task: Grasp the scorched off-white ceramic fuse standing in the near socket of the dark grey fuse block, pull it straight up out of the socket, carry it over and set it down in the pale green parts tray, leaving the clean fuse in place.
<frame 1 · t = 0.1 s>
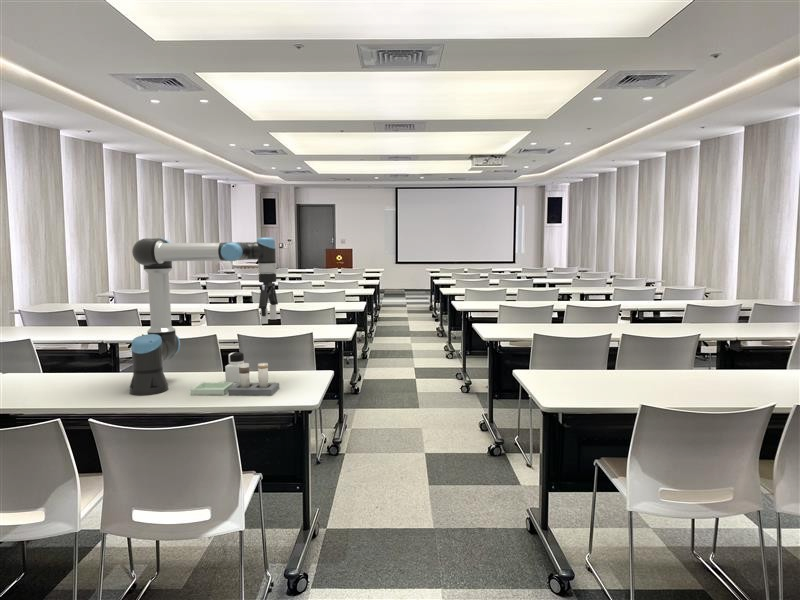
hand: (269, 321, 255), 28 cm above the table, fingers open, 13 cm apart
container: (237, 381, 264), on the table
fuse block: (254, 391, 244), on the table
blown fuse: (245, 391, 245), resting in fuse block
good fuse: (263, 391, 244), resting in fuse block
parts tray: (212, 391, 245), on the table
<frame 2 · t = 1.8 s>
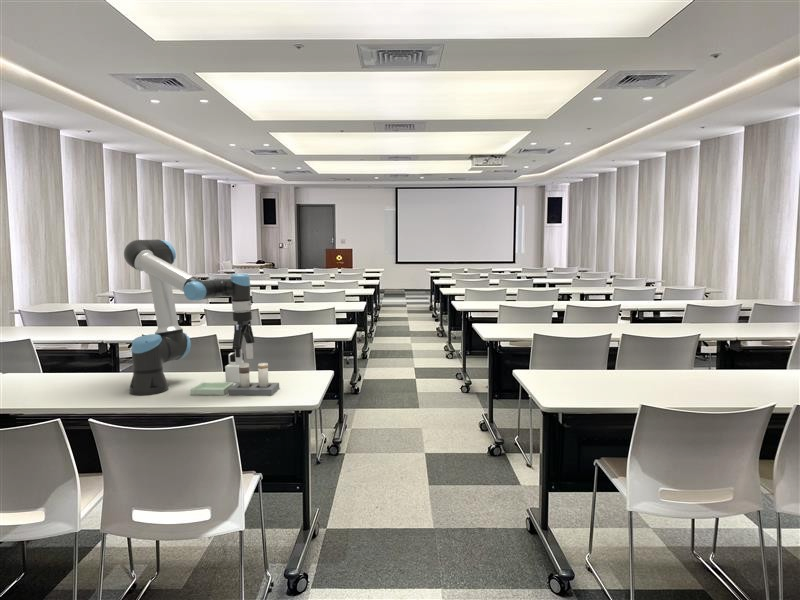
hand: (244, 361, 243), 13 cm above the table, fingers open, 13 cm apart
nothing on the table moved.
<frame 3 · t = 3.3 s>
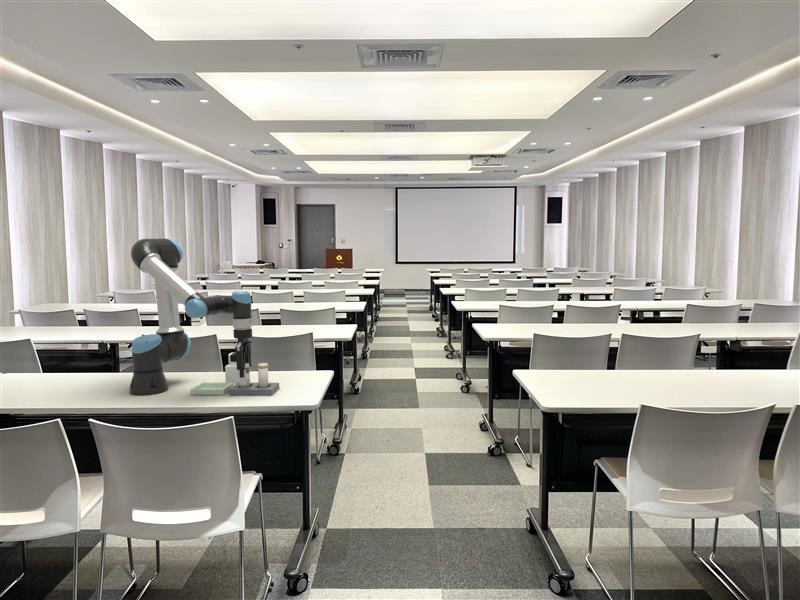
hand: (244, 383, 244), 4 cm above the table, fingers closed on blown fuse, 4 cm apart
blown fuse: (245, 391, 245), resting in fuse block, touching gripper
everything else where it was.
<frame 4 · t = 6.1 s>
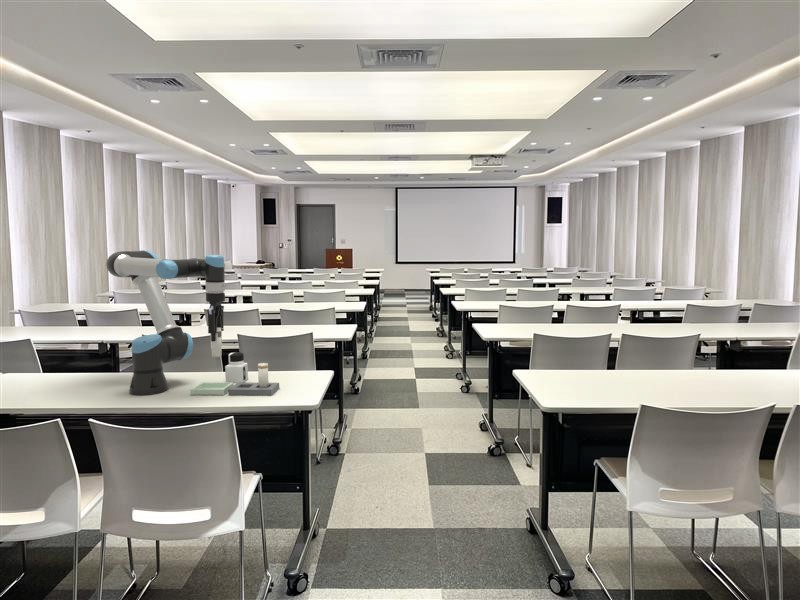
hand: (216, 347, 244), 19 cm above the table, fingers closed on blown fuse, 4 cm apart
blown fuse: (216, 356, 244), point 15 cm above the table, touching gripper
everything else where it was.
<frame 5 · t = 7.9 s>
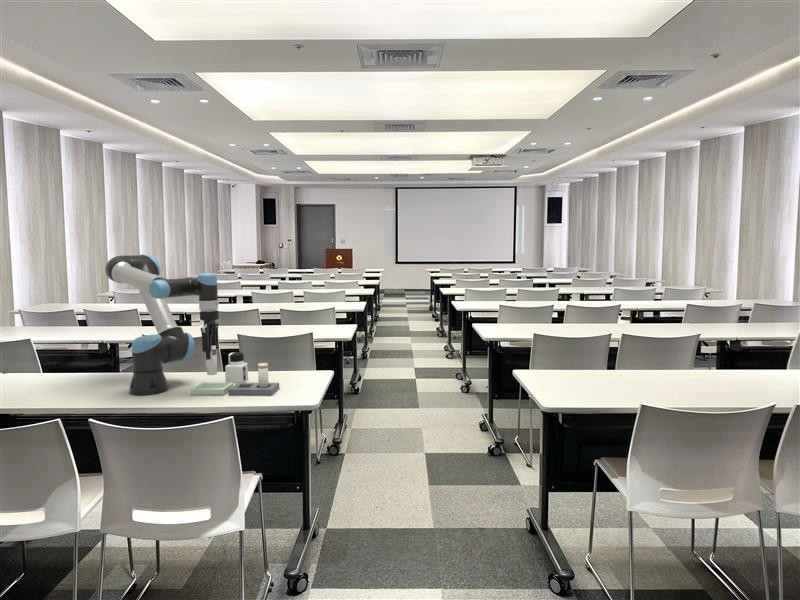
hand: (211, 365, 244), 11 cm above the table, fingers closed on blown fuse, 4 cm apart
blown fuse: (212, 373, 245), point 8 cm above the table, touching gripper
everything else where it was.
when the fingers open (6 cm above the table, at t = 9.2 s): blown fuse drops 1 cm, resting on parts tray.
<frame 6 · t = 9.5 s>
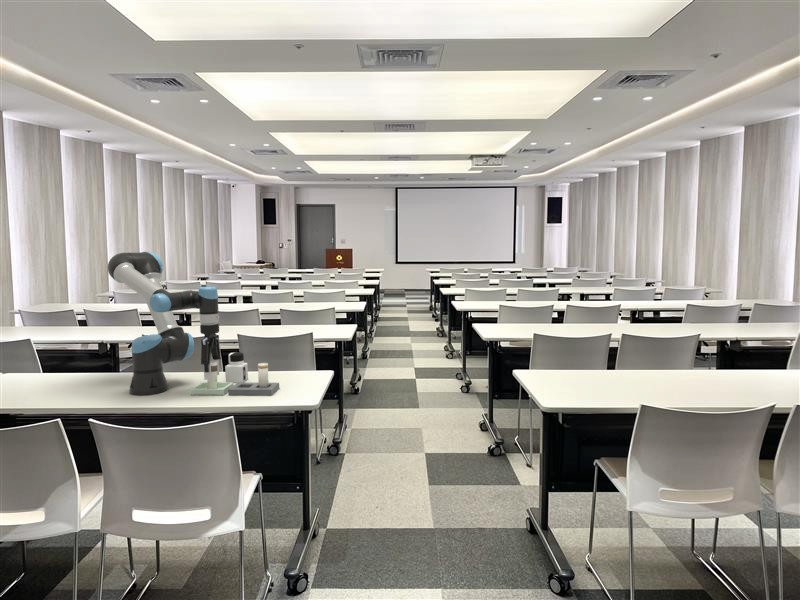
hand: (211, 377, 245), 6 cm above the table, fingers open, 8 cm apart
blown fuse: (212, 390, 245), point 1 cm above the table, touching parts tray
everything else where it was.
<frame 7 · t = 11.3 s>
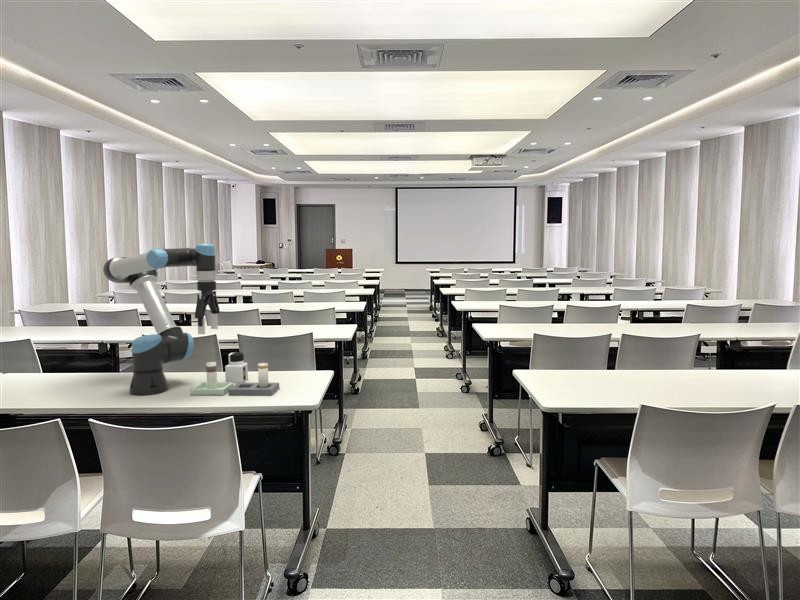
hand: (208, 331, 244), 26 cm above the table, fingers open, 13 cm apart
nothing on the table moved.
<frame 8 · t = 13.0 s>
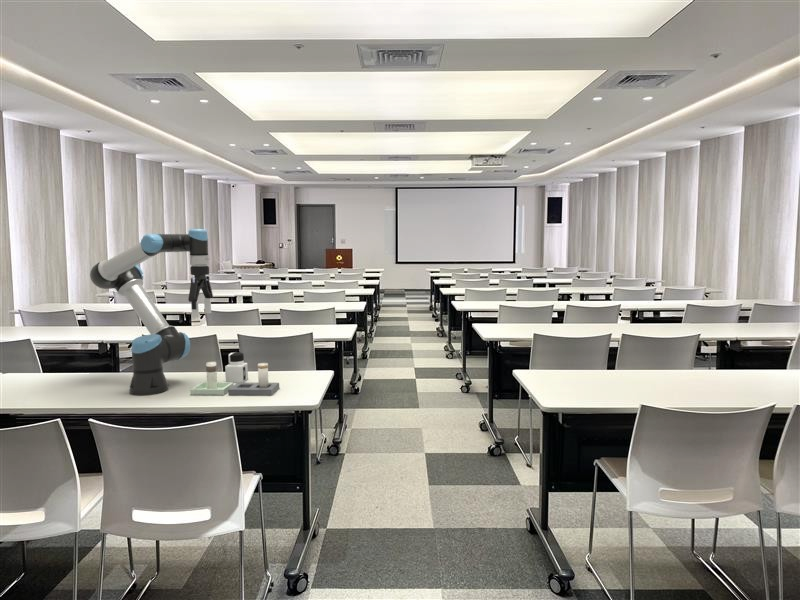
hand: (201, 315, 250), 32 cm above the table, fingers open, 13 cm apart
nothing on the table moved.
at the end: blown fuse inside the target area on the parts tray (0.0 cm from its centre), point 0.5 cm above the parts tray's base; the gripper is holding nothing; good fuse moved 0.0 cm from its start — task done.
